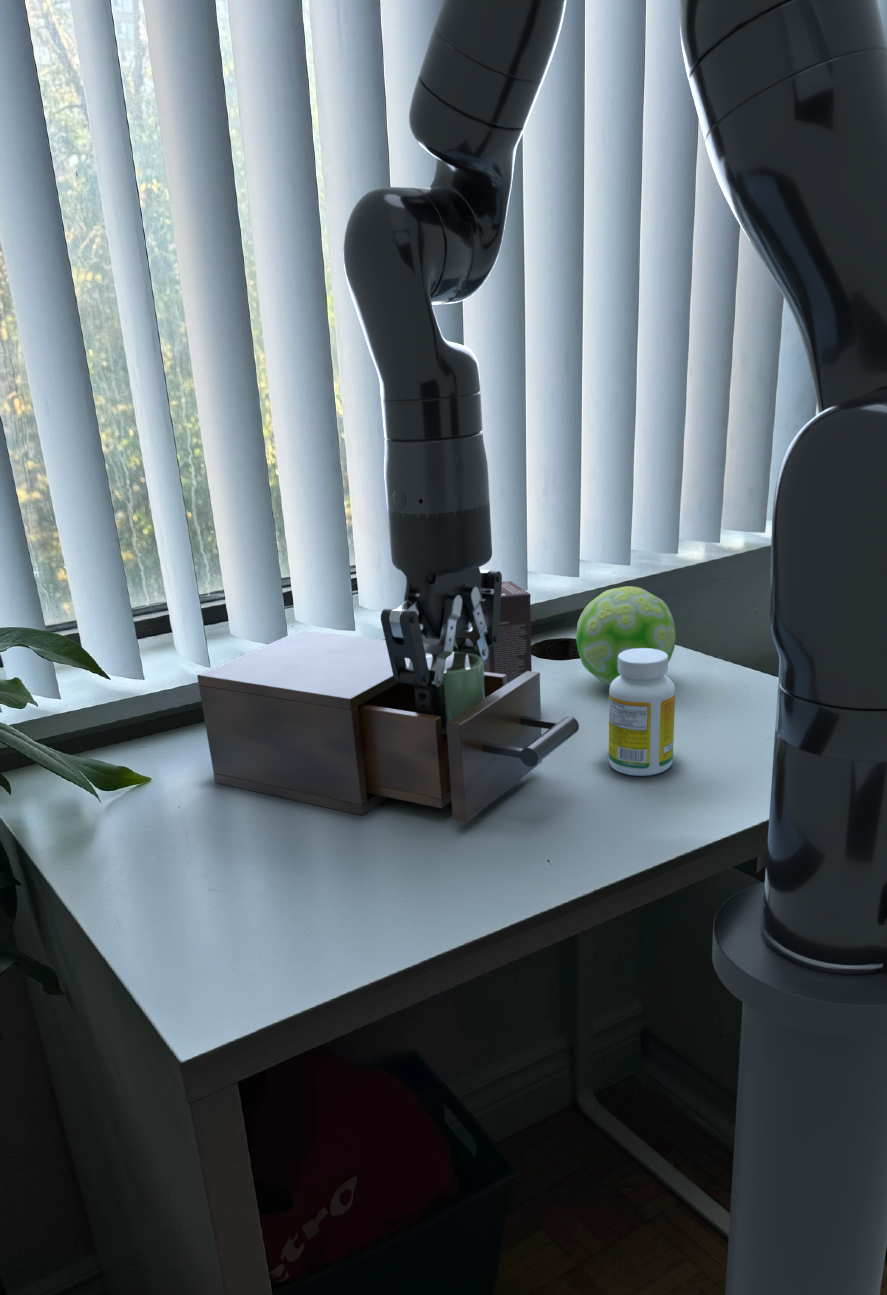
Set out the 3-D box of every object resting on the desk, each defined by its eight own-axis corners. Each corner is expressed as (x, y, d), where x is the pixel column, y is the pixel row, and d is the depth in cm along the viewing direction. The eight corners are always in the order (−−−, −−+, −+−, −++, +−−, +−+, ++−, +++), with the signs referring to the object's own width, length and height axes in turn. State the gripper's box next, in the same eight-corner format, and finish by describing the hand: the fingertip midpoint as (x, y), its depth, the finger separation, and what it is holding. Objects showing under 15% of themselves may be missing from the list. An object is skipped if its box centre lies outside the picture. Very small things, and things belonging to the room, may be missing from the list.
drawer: (594, 771, 88) (594, 679, 85) (522, 835, 78) (518, 734, 75) (398, 736, 98) (391, 653, 94) (312, 790, 88) (301, 699, 85)
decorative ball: (556, 686, 110) (554, 589, 106) (626, 663, 115) (626, 570, 111) (626, 709, 103) (626, 607, 99) (697, 684, 108) (700, 585, 104)
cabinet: (452, 753, 96) (445, 647, 92) (362, 815, 85) (350, 699, 81) (313, 728, 104) (300, 629, 100) (214, 782, 93) (196, 675, 89)
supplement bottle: (623, 781, 88) (623, 669, 84) (599, 757, 93) (598, 650, 89) (684, 771, 89) (687, 660, 85) (657, 748, 94) (659, 642, 90)
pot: (498, 715, 86) (495, 655, 84) (464, 738, 82) (460, 676, 80) (441, 706, 89) (437, 648, 87) (405, 729, 85) (400, 668, 83)
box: (536, 717, 103) (532, 592, 98) (490, 724, 102) (484, 598, 97) (516, 697, 108) (511, 578, 103) (473, 703, 107) (466, 584, 102)
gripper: (428, 520, 71) (445, 756, 78) (529, 484, 82) (536, 694, 89) (337, 516, 75) (362, 742, 82) (445, 482, 86) (459, 683, 93)
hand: (453, 716), depth 85 cm, fingers closed on pot, 5 cm apart
